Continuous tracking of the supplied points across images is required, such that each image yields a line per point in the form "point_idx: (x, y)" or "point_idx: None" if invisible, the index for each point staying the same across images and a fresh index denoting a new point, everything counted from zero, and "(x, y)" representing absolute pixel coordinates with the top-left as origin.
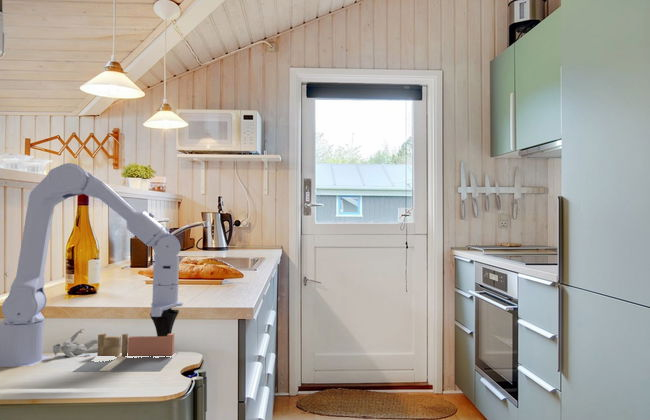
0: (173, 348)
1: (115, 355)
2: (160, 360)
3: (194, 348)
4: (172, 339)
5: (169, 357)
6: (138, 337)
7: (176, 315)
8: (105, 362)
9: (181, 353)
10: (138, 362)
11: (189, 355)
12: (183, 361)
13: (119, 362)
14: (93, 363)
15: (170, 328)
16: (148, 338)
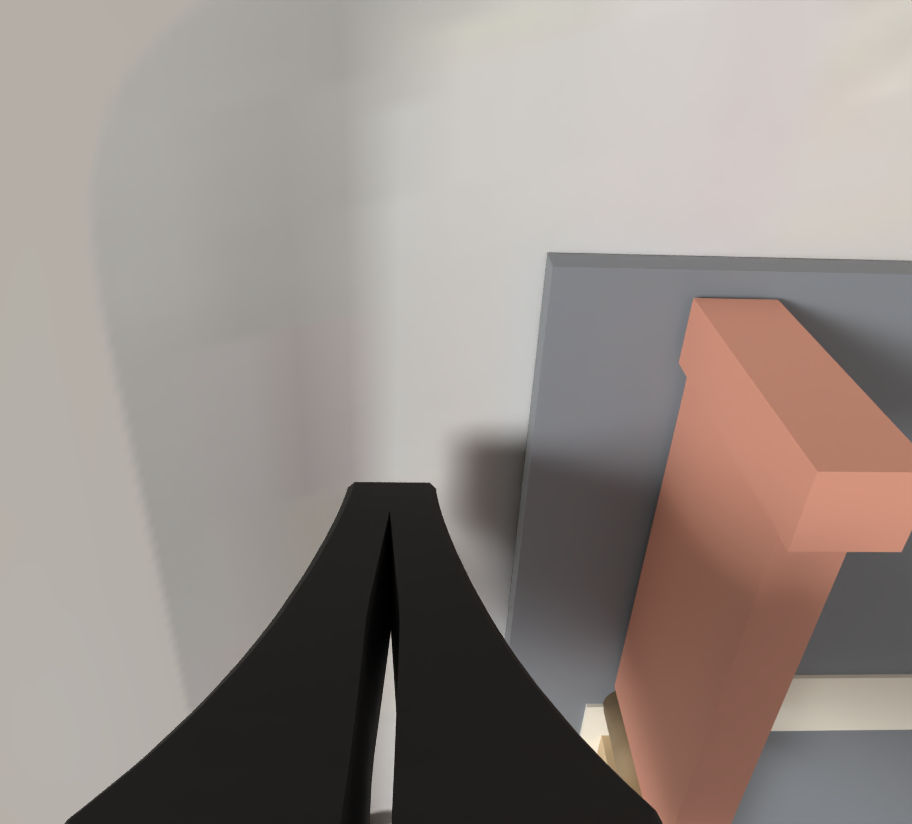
0: (744, 336)
1: None
2: (905, 384)
3: (172, 75)
4: (889, 423)
5: (806, 316)
6: (737, 800)
7: (218, 793)
8: (801, 754)
9: (472, 221)
10: (899, 557)
11: (596, 76)
12: (902, 103)
13: (852, 680)
14: (801, 801)
15: (449, 613)
16: (769, 709)
